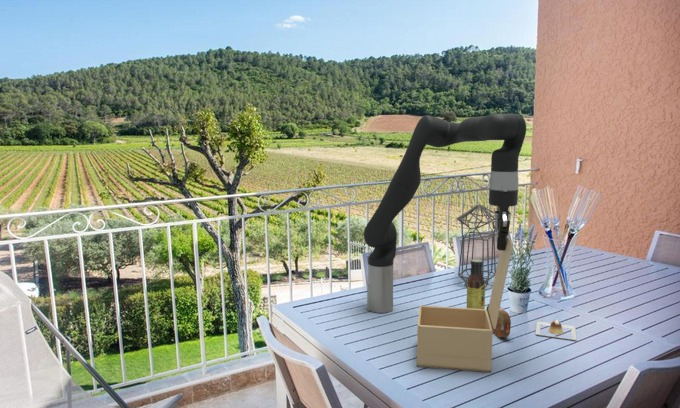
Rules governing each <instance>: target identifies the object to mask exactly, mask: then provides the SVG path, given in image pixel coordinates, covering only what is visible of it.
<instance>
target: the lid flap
mask: <svg viewBox="0 0 680 408" xmlns="http://www.w3.org/2000/svg"><path fill="white" fill-rule="evenodd" d="M513 245H514V243H513V242H512V240H511V238H510V237H509V235H508V236H507V237H506V248H505V250H499V254H498V258H497V263H496V273H495V272H494V273H495V276H494V277H493V278H494V279H493V284H492V289H491V293H490V297H489V298H490V299H489V303H488V305H489V308H488V311H489V314H490V318H491V321H492V325H493V328H494V329H496V324H497V319H498V314H499V310H500V307H501V304H502V298H503V294H504V290H505V289H504V288H505V284H506V279H507V274H508V270H509V266H510V265H509V264H510V261H511V255H512V250H513V247H514V246H513Z"/></svg>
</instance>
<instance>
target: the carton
mask: <svg viewBox="0 0 680 408" xmlns="http://www.w3.org/2000/svg"><path fill="white" fill-rule="evenodd" d="M416 331H417V335H416V336H417V341H416V342H417V343H416V344H417V345H416V347H417V348H416V367H418V368H419V367H420V368H429V369H430V368H431V369H444V370H456V371H470V372H480V371H482V373H491V372H492V354H493V352H492V350H493V334H494V333H493V330H492V326H491V323H490V319H489V316H488V312H487V310H486V309H473V308H467V307H451V306H434V305H419V308H418V317H417V330H416Z"/></svg>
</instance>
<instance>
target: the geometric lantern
mask: <svg viewBox="0 0 680 408" xmlns="http://www.w3.org/2000/svg"><path fill="white" fill-rule="evenodd" d="M479 212H480V214H479ZM494 212H495V211H493V210H491V209H489V208H487V207H485V206H484V205H482V204H480V203H479V204H475V205H474V206H473V207H471V208H470V209H469V210H467V211H466V212H464V213H463V214H461V215H459V216H458V217H456V218H455V220H456V221H458V222H460V225H461V238H462V239H461V246H460V247H461V249H460V255H459V265H458V266H459V267H458V273H457V274H458V275H457V276H458V277H459V278H460V279H461V280H462V281H463V282H464V284H463V285H464V287H467V283H468V281H467V280H468V277H469V276H470V274H469V272H468V271H471V268H468V261H469V253H470V243H471V240H472V249H471V251H472V253H471V260H474V250H475V240H478V241H482V259H481V260H482V261H483V265H482V274H483V275H484V273H487V277H484V280H485V288H486V287H487V286H488V285H489V281H491V280H492V279H493V278H495V273H496V268H497V263H496V242H495V241H496V239H495V234H496V227H495V216H494V215H492V214H494ZM491 213H492V214H491ZM469 215H471V216H470V218H469V219H468V216H469ZM473 217H474V218H475V221H471V220H472V218H473ZM479 217H481V218H479ZM483 217H485V219H486V221H483ZM470 224H474V227H470ZM476 224H477V225H476ZM491 224H492V227H491ZM463 225H464V226H466V228H468V229H469V230H468V231H467V232H466V233H464V230H463V227H464V226H463ZM486 225H488V226H489V229H490V230H491V231H490V233H489V232H480V231H479V230H478V229H480V228H482V227H484V226H486ZM472 230H473V231H472ZM475 233H476V234H478V235H479V236H480V238H475ZM471 234H473V235H472V237H471ZM482 234H483V235H489V236H488V237H487V239H485V238H483V236H482ZM467 235H468V236H467ZM466 239H468V244H467V253H466V260H465V262H466V264H465V269H464V257H465V255H464V254H465V240H466ZM490 239H491V264H490V259H489V257H490V254H489V250H490V249H489V240H490ZM485 241H486V253H487V254H486V256H487V258H486V259H487V270H484V268H485V267H484V265H485V264H484V263H485V261H484V260H485V259H484V258H485V255H484V253H485ZM490 265H491V266H490ZM493 265H494V266H493ZM490 267H491V268H490ZM493 267H494V271H493ZM465 272H466V274H467V277H466V276H463V275H464V273H465ZM491 274H493V275H491ZM490 275H491V276H490Z"/></svg>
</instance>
